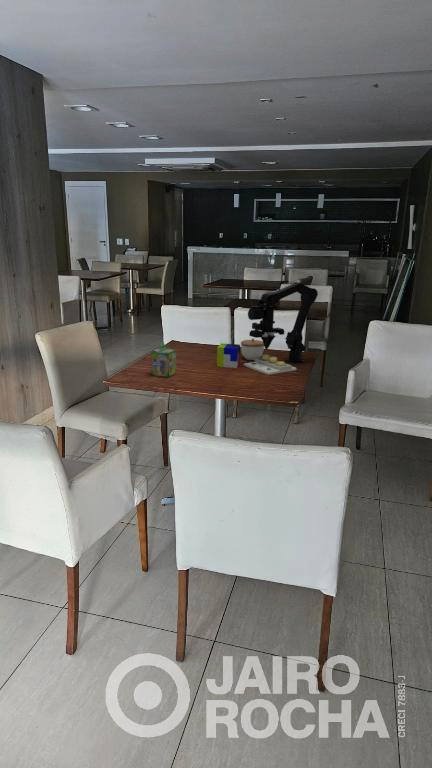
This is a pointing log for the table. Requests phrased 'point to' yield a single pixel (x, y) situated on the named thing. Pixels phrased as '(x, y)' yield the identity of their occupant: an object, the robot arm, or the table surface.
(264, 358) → the button
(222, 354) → the puzzle toy
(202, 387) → the table surface
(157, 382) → the table surface
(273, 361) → the button mid
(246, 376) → the table surface
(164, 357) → the green patterned box
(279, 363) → the button
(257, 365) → the board
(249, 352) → the lidded bowl
